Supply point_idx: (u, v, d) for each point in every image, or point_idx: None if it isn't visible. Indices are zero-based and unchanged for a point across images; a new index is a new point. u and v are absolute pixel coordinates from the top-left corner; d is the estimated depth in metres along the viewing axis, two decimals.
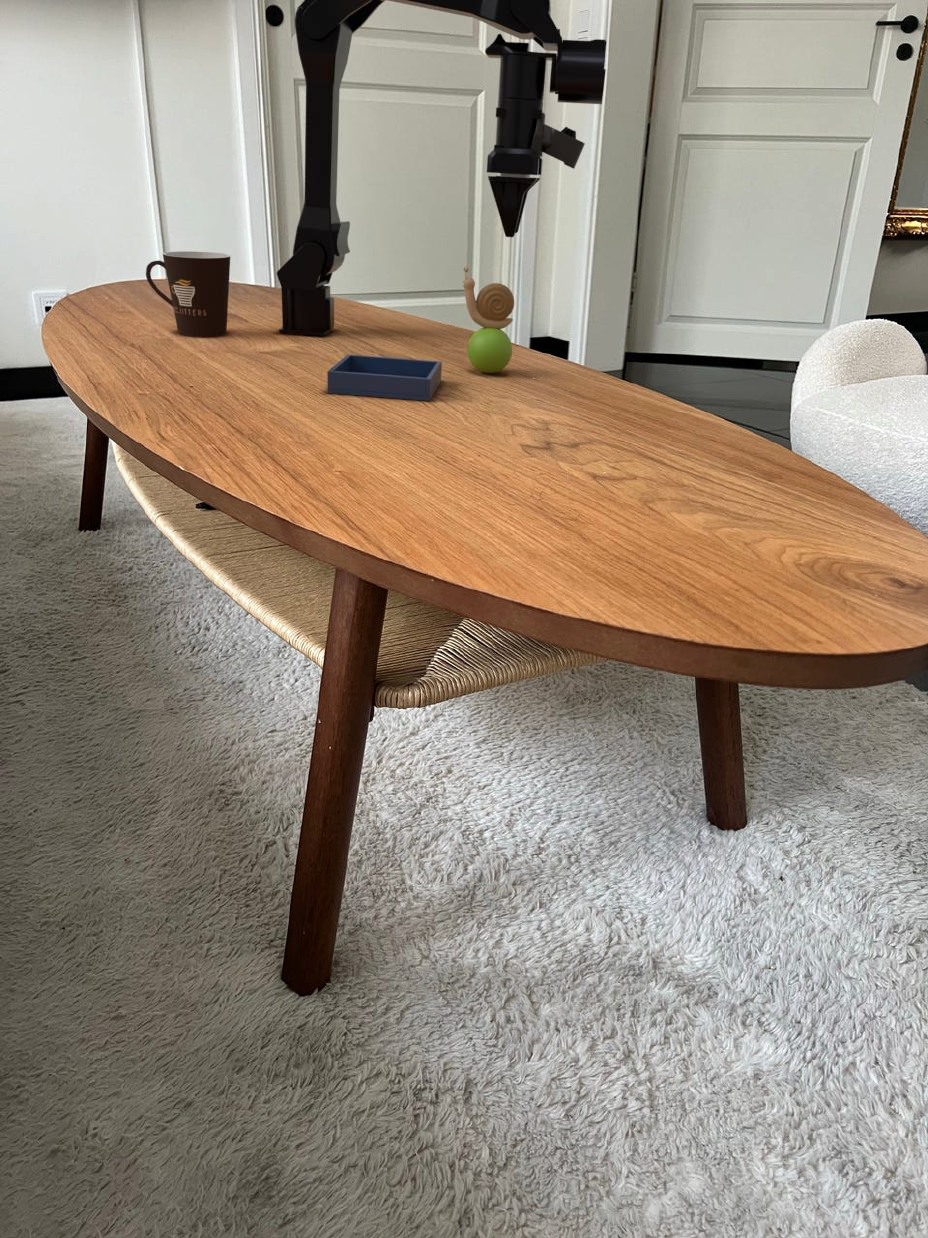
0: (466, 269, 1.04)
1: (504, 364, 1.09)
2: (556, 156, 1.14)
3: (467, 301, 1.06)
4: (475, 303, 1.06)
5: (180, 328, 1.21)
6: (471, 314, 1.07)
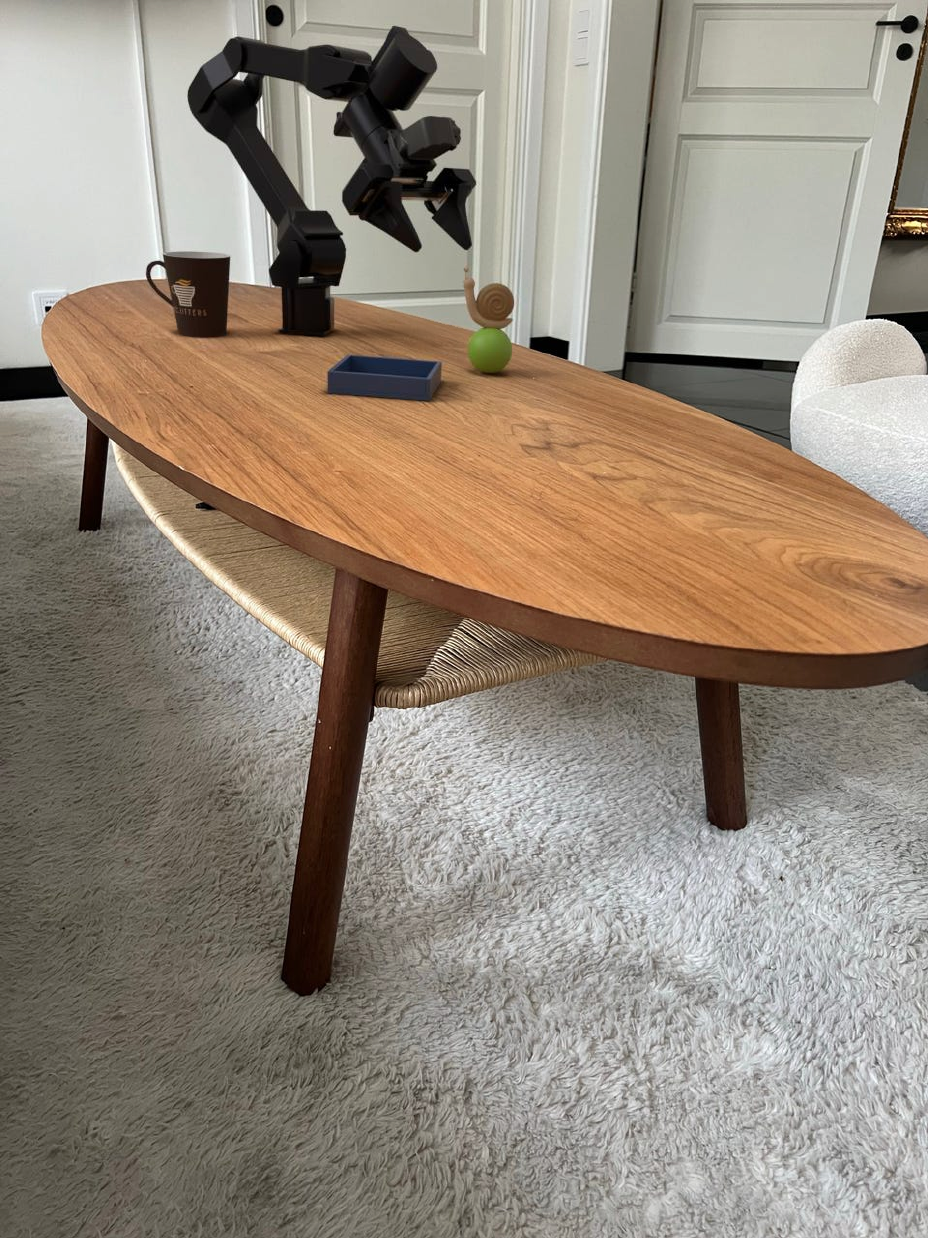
0: (466, 269, 1.04)
1: (504, 364, 1.09)
2: (416, 149, 1.04)
3: (467, 301, 1.06)
4: (475, 303, 1.06)
5: (180, 328, 1.21)
6: (471, 314, 1.07)
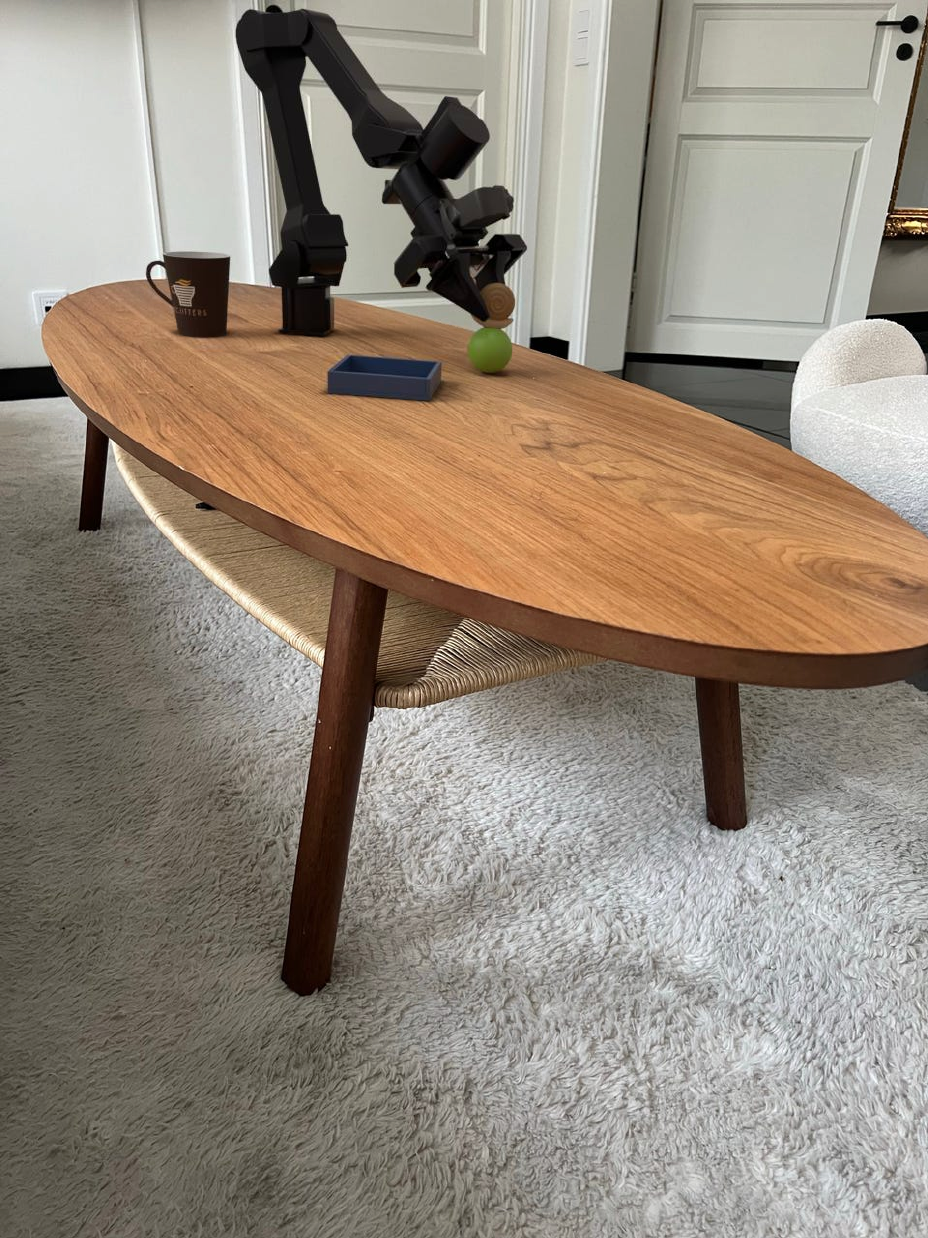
0: None
1: (503, 364, 1.09)
2: (469, 220, 1.02)
3: None
4: None
5: (180, 328, 1.21)
6: None
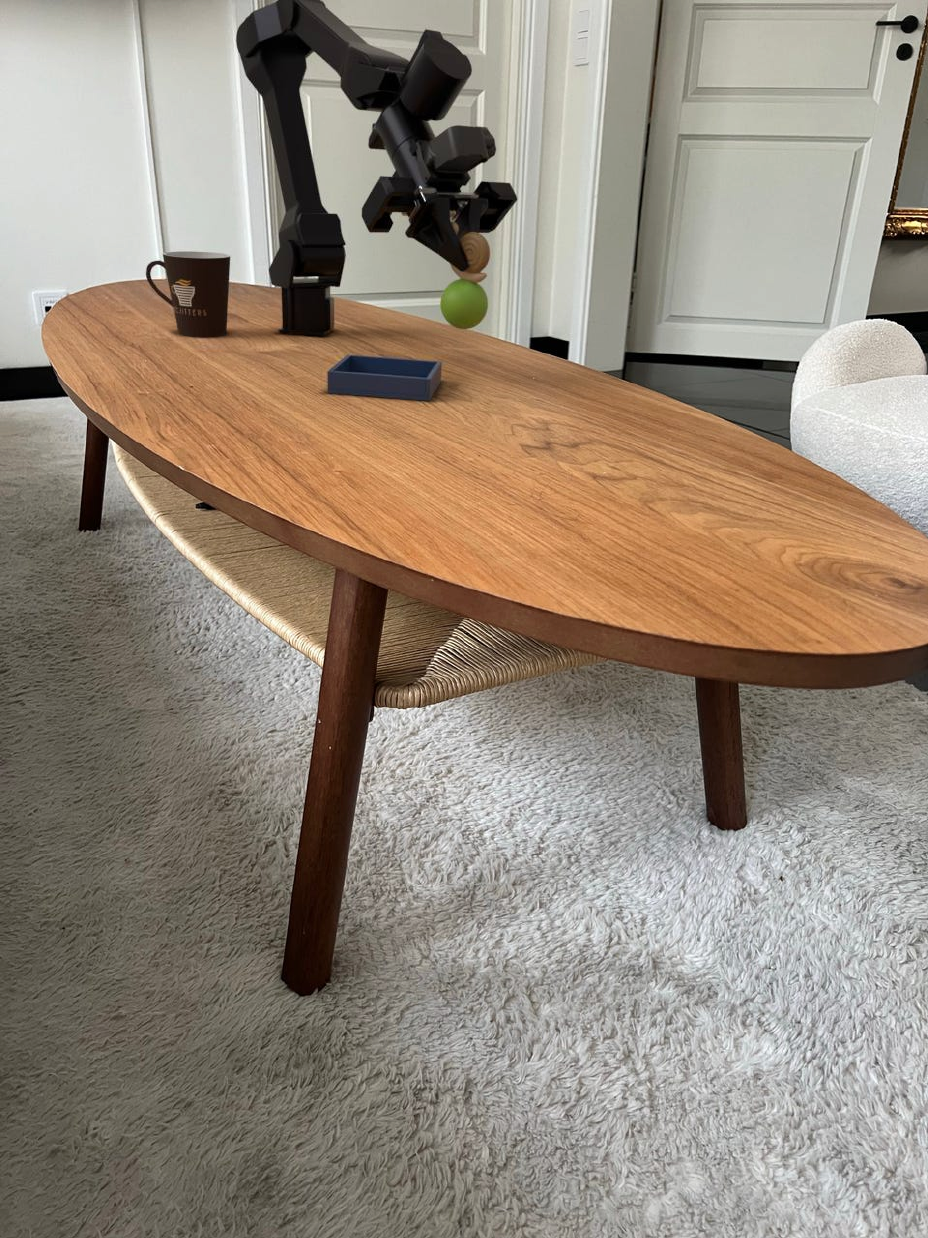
0: None
1: (465, 320, 1.01)
2: (442, 162, 0.96)
3: None
4: None
5: (180, 328, 1.21)
6: None
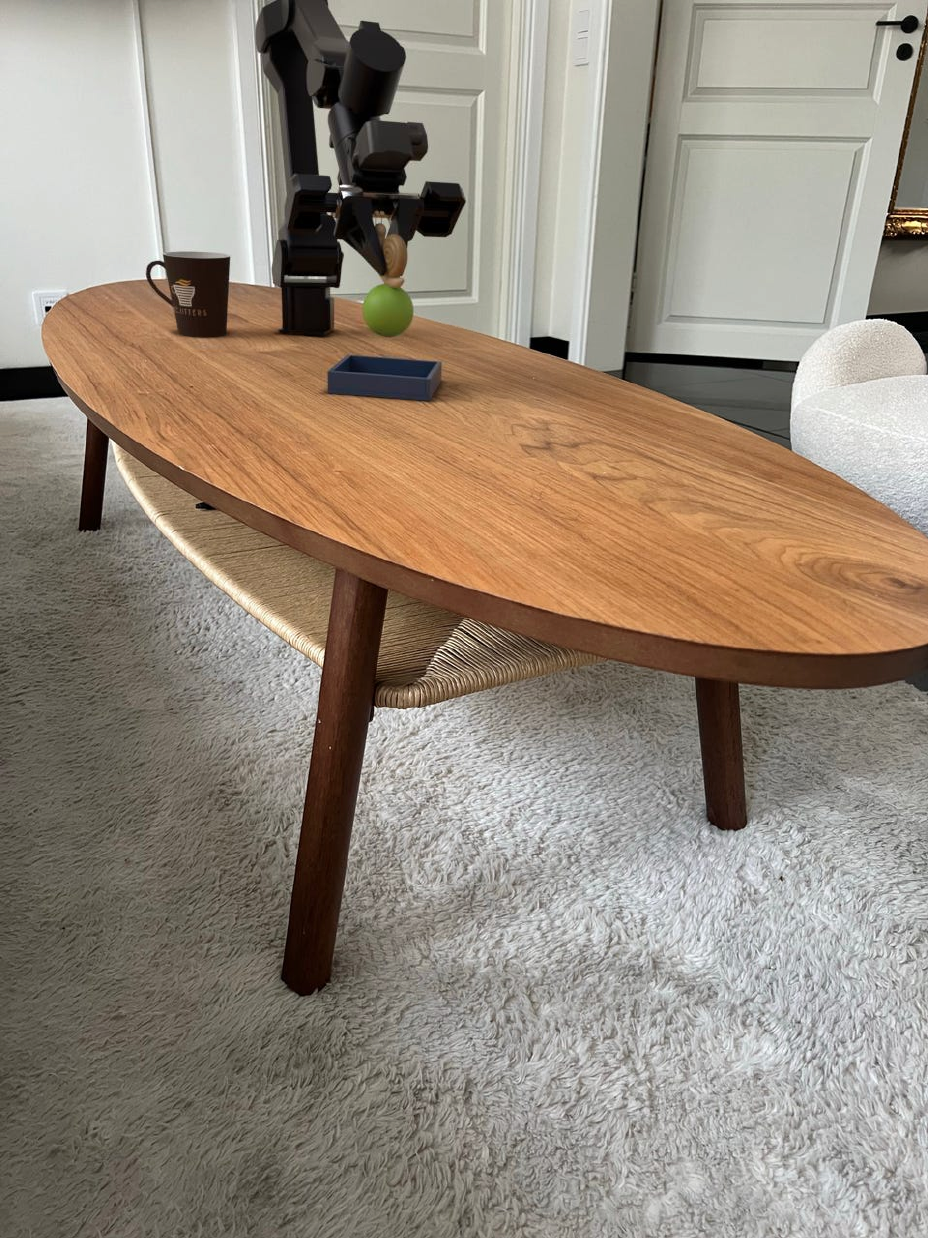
0: (374, 212, 0.94)
1: (381, 327, 0.95)
2: (362, 159, 0.91)
3: None
4: None
5: (180, 328, 1.21)
6: None
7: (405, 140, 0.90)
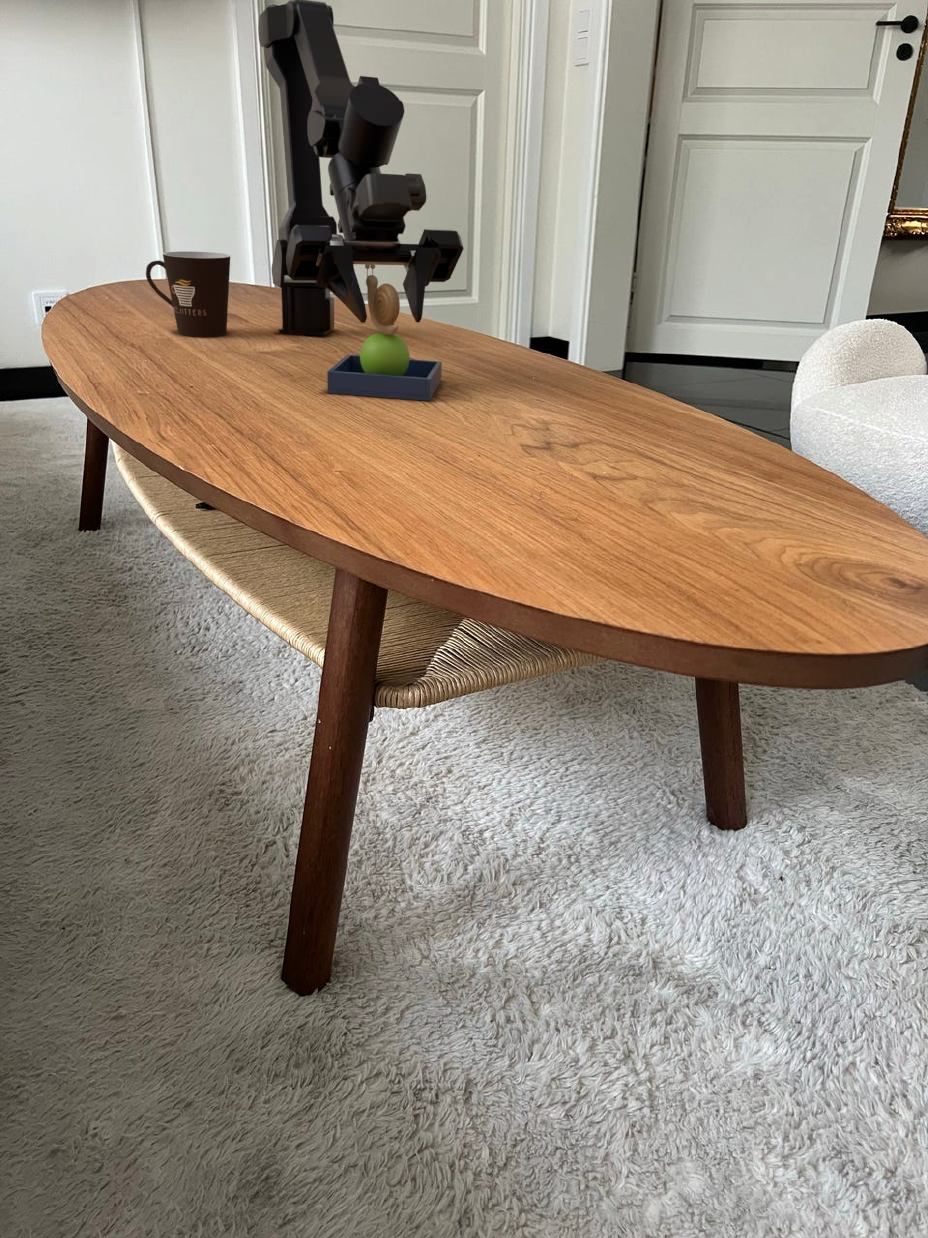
0: (365, 265, 0.97)
1: (379, 373, 0.97)
2: (361, 210, 0.93)
3: (368, 300, 0.98)
4: (373, 303, 0.98)
5: (180, 328, 1.21)
6: (370, 315, 0.99)
7: (404, 192, 0.92)
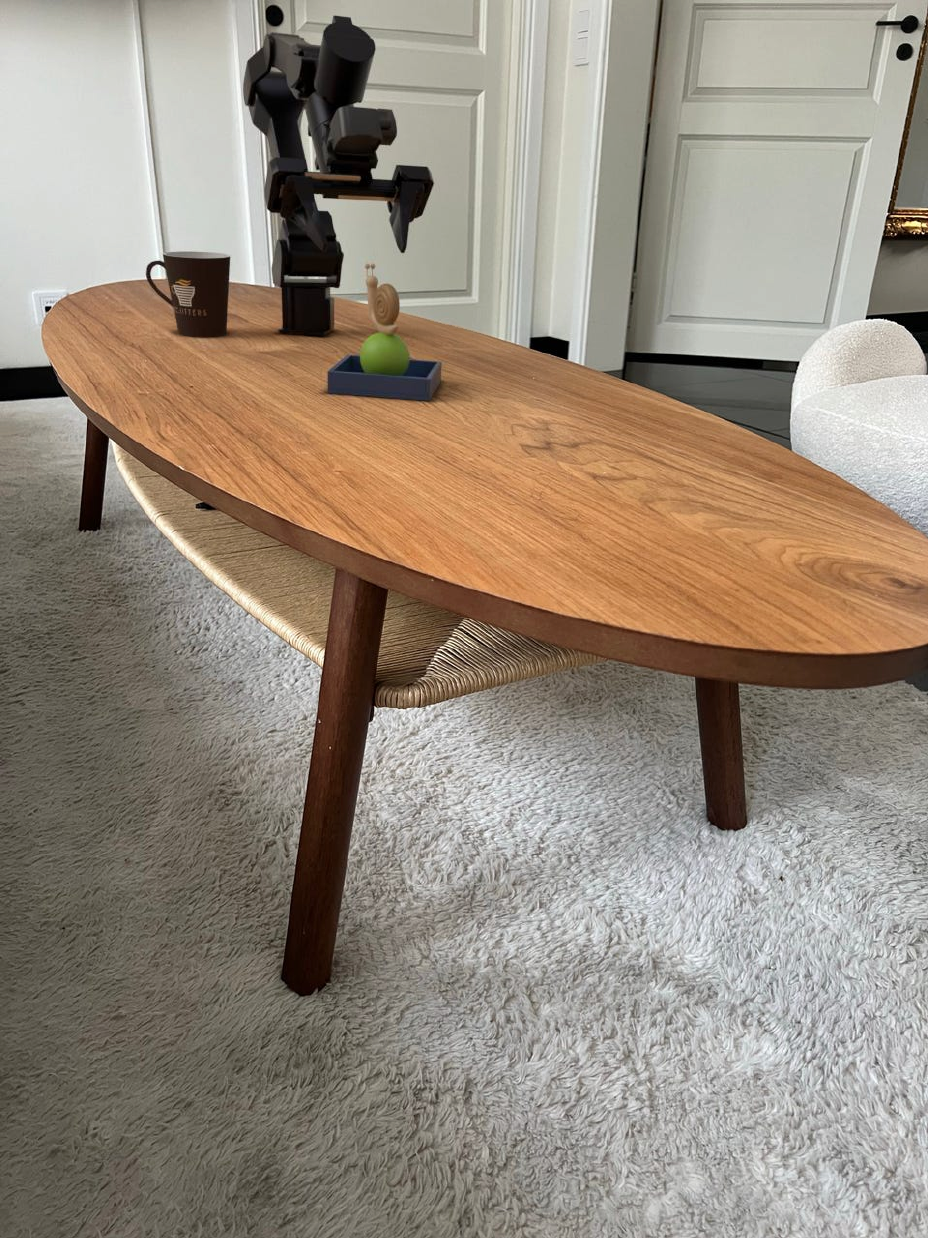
0: (365, 265, 0.97)
1: (379, 373, 0.97)
2: (335, 143, 0.98)
3: (368, 300, 0.98)
4: (373, 303, 0.98)
5: (180, 328, 1.21)
6: (370, 315, 0.99)
7: (375, 125, 0.97)
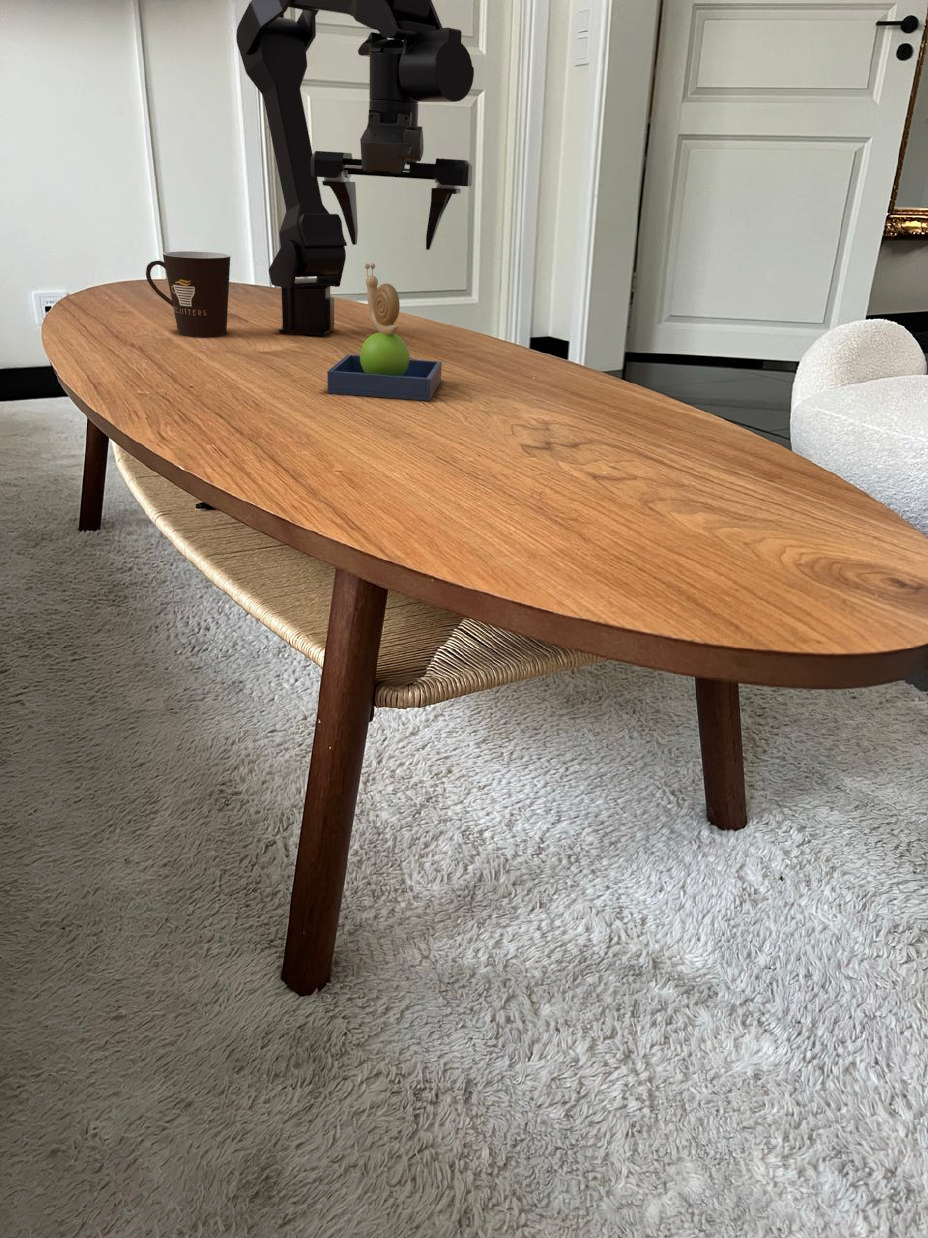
0: (365, 265, 0.97)
1: (379, 373, 0.97)
2: None
3: (368, 300, 0.98)
4: (373, 303, 0.98)
5: (180, 328, 1.21)
6: (370, 315, 0.99)
7: (393, 160, 1.00)
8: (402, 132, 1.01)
